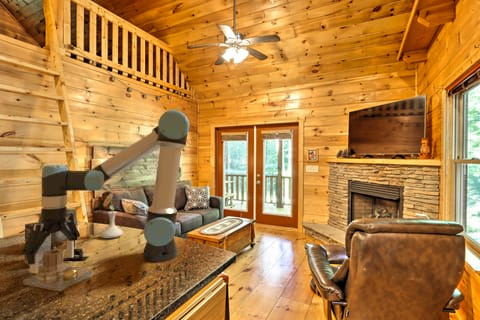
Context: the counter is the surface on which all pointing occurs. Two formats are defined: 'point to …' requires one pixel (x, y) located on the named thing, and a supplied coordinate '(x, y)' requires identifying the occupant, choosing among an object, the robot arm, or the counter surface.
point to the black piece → (77, 258)
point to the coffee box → (44, 247)
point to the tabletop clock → (59, 235)
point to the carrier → (60, 279)
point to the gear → (52, 265)
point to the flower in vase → (111, 222)
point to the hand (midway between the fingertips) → (53, 264)
